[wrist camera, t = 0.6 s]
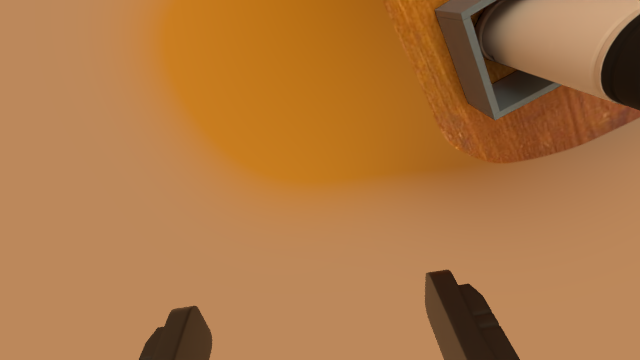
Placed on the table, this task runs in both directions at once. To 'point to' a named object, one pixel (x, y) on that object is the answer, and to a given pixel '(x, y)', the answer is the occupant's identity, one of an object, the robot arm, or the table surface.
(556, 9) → the travel mug
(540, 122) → the table surface
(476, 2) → the open box
